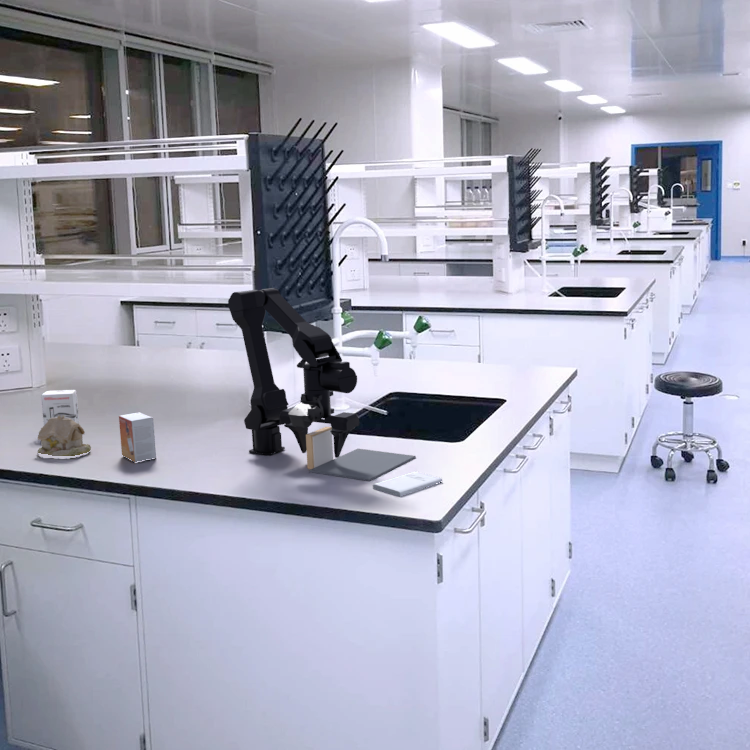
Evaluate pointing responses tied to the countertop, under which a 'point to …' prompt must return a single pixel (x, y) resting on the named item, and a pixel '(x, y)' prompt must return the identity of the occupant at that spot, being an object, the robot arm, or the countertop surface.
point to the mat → (362, 464)
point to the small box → (137, 436)
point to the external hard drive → (407, 483)
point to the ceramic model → (62, 438)
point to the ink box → (60, 405)
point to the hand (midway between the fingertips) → (320, 455)
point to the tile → (319, 447)
